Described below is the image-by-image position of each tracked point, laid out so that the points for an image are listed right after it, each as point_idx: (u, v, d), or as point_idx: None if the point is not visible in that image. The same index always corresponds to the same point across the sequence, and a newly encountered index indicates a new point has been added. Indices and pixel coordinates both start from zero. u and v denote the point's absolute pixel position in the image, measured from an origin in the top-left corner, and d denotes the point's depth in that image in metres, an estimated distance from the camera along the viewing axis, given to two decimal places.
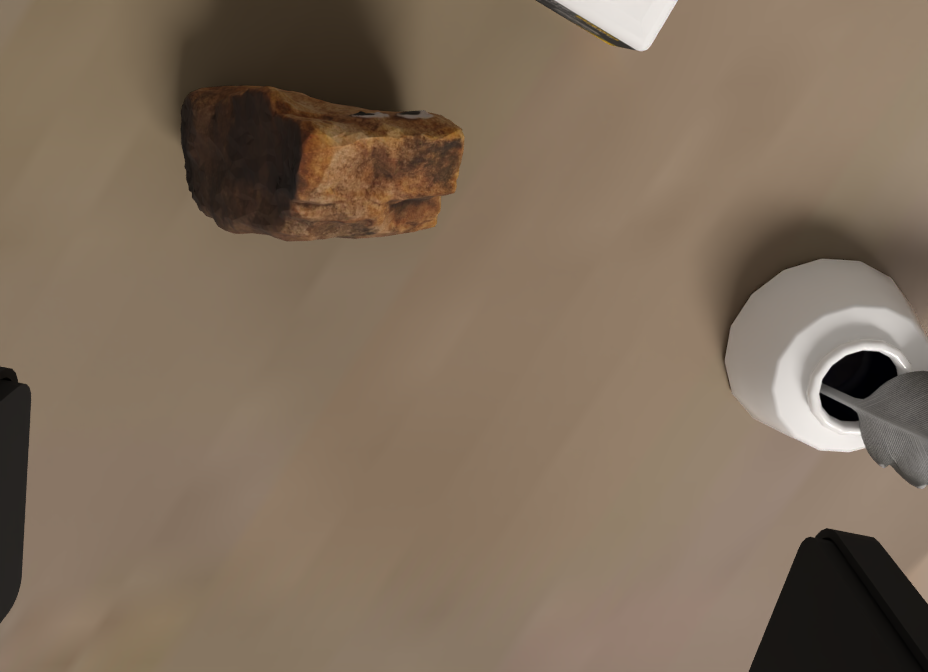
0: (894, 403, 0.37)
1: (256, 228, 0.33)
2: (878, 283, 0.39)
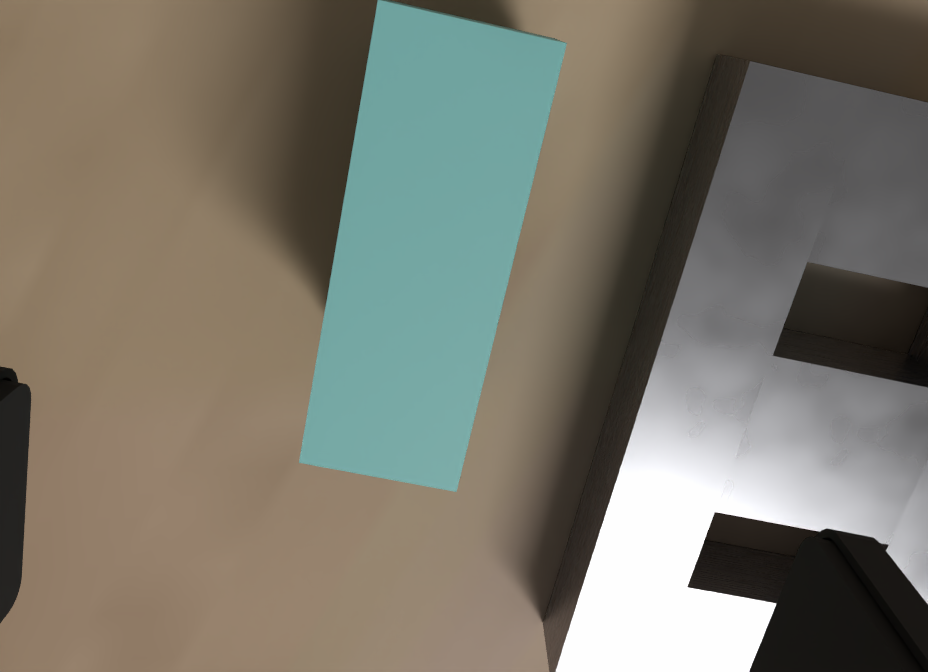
0: None
1: None
2: None
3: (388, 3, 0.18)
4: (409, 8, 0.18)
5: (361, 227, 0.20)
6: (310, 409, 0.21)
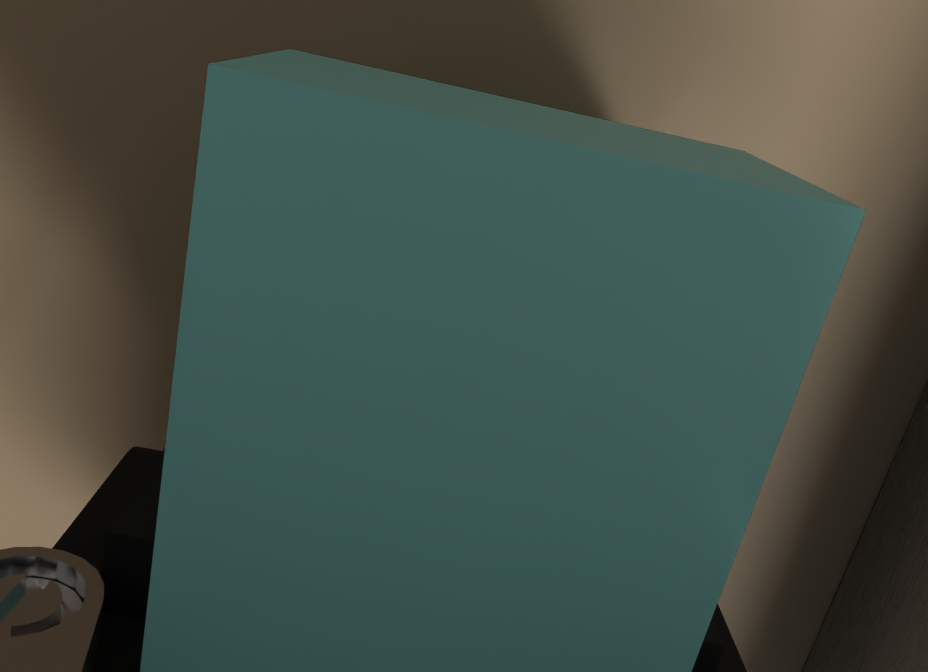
0: None
1: None
2: None
3: (246, 77, 0.05)
4: (321, 94, 0.05)
5: None
6: None
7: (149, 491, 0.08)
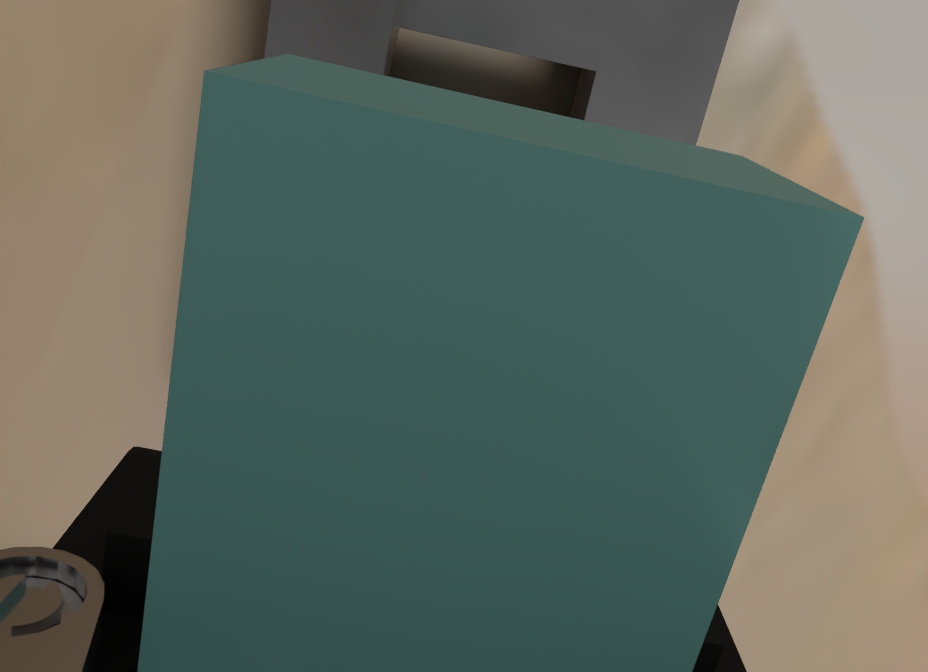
0: None
1: None
2: None
3: (242, 83, 0.05)
4: (317, 101, 0.05)
5: None
6: None
7: (149, 491, 0.08)
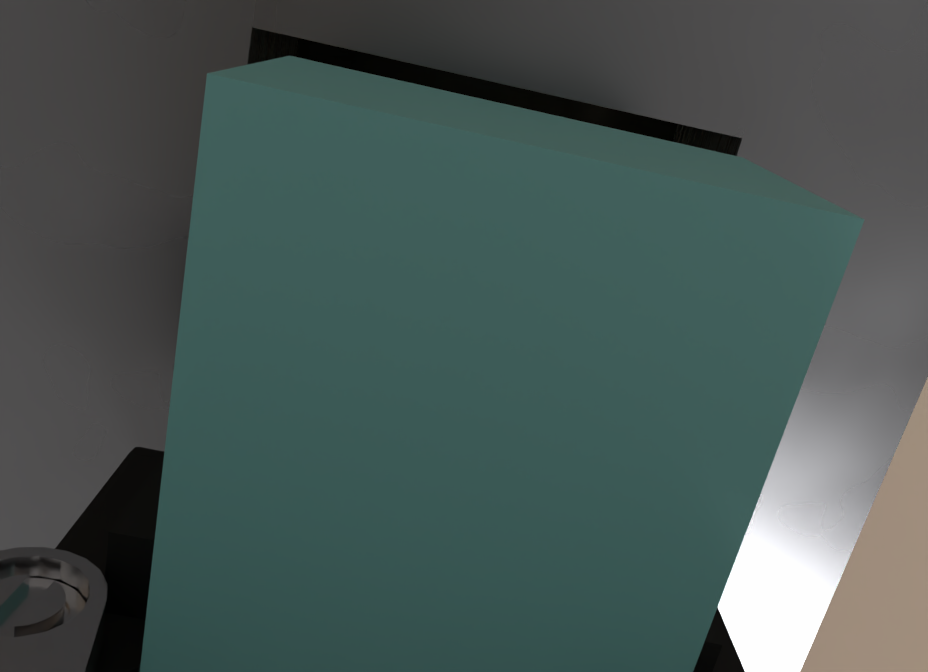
0: None
1: None
2: None
3: (245, 86, 0.05)
4: (319, 104, 0.05)
5: None
6: None
7: (152, 491, 0.08)
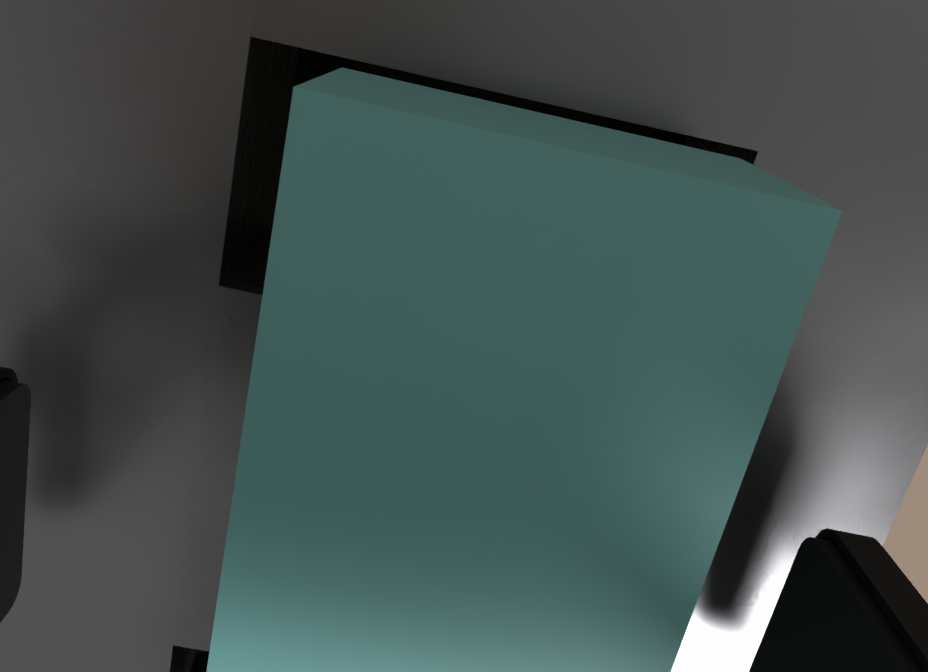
0: None
1: None
2: None
3: (325, 97, 0.06)
4: (387, 112, 0.06)
5: (267, 651, 0.08)
6: None
7: None
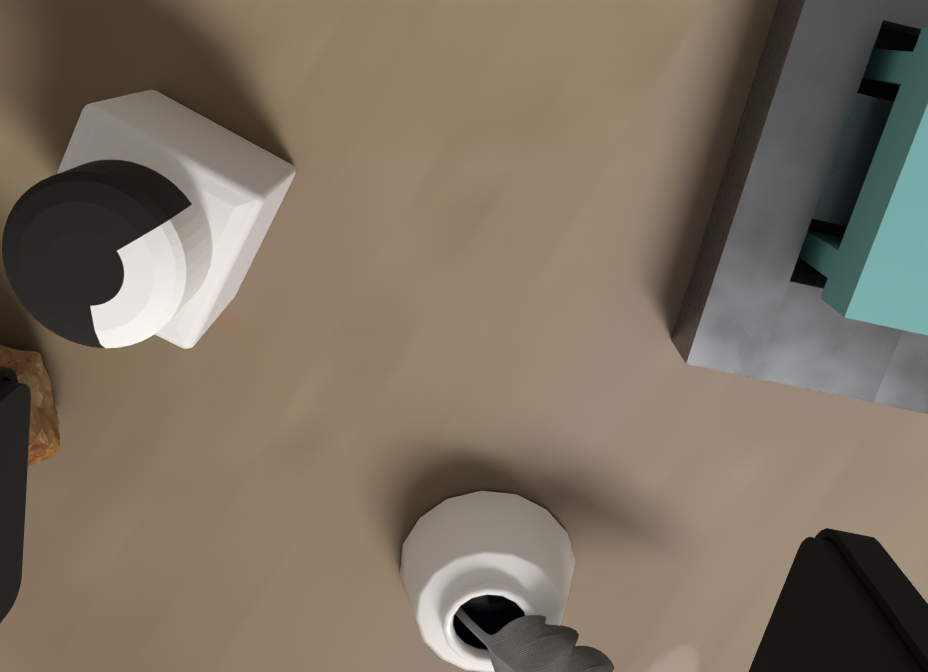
0: (511, 644, 0.41)
1: None
2: (521, 522, 0.43)
3: None
4: None
5: (917, 164, 0.32)
6: (859, 281, 0.34)
7: None
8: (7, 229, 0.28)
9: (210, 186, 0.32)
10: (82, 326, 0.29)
